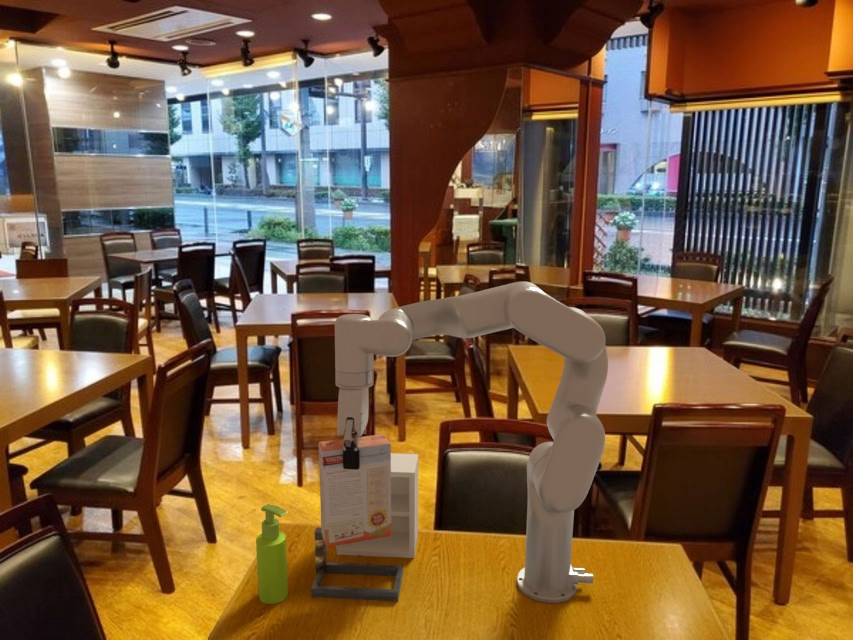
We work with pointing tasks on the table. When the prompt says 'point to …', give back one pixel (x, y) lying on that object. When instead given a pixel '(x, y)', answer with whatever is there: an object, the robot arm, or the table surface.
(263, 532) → the soap dispenser
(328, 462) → the cracker box
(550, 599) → the robot arm
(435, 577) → the table surface
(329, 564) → the dark gray rectangular frame
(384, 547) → the cabinet
